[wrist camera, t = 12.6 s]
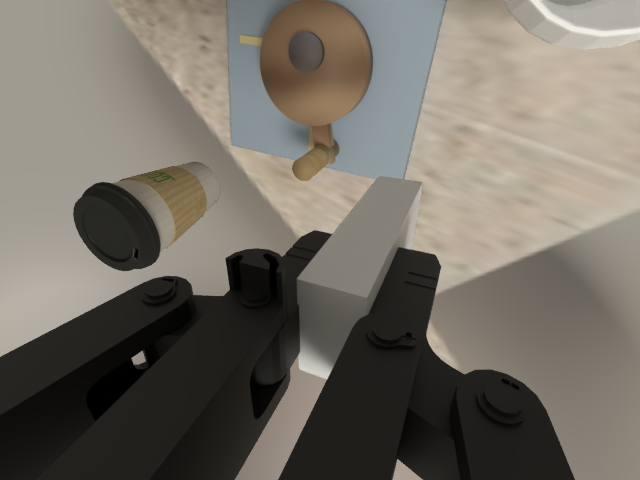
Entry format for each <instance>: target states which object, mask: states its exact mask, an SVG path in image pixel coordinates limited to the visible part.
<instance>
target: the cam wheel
mask: <svg viewBox="0 0 640 480" xmlns="http://www.w3.org/2000/svg"><path fill="white" fill-rule="evenodd" d="M260 70H261V76H262V80H263V84H264V86H265V89H266V91H267V93H268V96H269V97H270V99H271V100H272V102H273V103H274V105H275V106H276V107H277V108H278V109H279V110H280V111H281V112H282V113H283V114H284V115H285V116H286V117H288V118H289V119H291V120H293V121H295V122H297V123H300V124H303V125H308V126H312V133H313V141H314V148H313V149H312V150H310V151H309V152H307V153H306V154H305V155H303V156H302V157H300V158H299V159H297V160H296V161H295V162H294V163H293V167H292V170H293V173H294V175H295V176H296V178H298V179H299V180H302V181H307V180H309V179H311V178H312V177H313V176H314V175H315V174H317V173H318V172H319V171H320V170H321V169H322V168H324V167H325V166H326V165H327V164H333V163H334V162H335V161H336V159H335V157H336V156H337V155H338V154H339V145H338V144H337V142H336V141H334V140H333V132H332V122H334V121H337V120H338V119H340V118H342V117H343V116H345V115H346V114H348V113H349V112H351V111H352V110H353V109H354V108H356V106H357V105H358V104H359V103H360V102H361V100H362V99H363V97H364V96H365V94H366V92H367V90H368V87H369V85H370V82H371V78H372V72H373V52H372V47H371V43H370V40H369V37H368V34H367V32H366V30H365V28H364V27H363V25H362V24H361V22H360V21H359V20H358V18H357V17H356V16H355V15H354V14H353V13H351V12H350V11H349V10H348V9H346V8H344V7H343V6H341V5H339V4H336V3H333V2H328V1H323V0H299V1H296V2H293V3H291V4H289V5H287V6H286V7H285V8H283V9H282V10H281V11H280V12H279V13H277V14H276V16H275V17H274V18H273V19H272V21H271V22H270V24H269V26H268V27H267V29H266V32H265V34H264V37H263V40H262V44H261V49H260Z"/></svg>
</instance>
